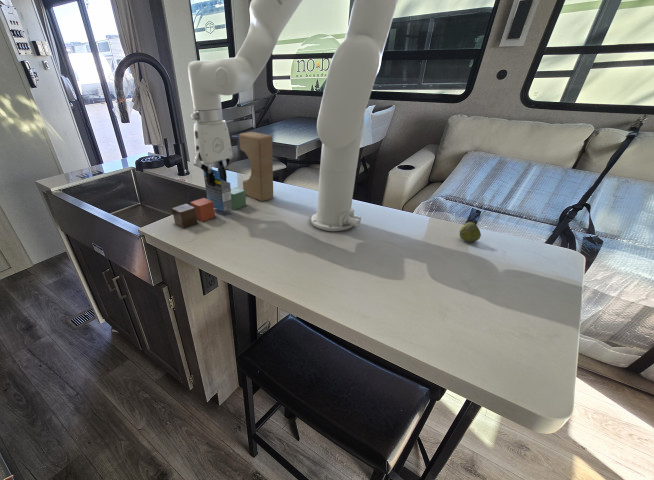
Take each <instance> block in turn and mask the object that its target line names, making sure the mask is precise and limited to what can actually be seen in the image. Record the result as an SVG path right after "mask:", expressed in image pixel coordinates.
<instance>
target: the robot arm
mask: <svg viewBox="0 0 654 480" xmlns="http://www.w3.org/2000/svg"><path fill="white" fill-rule="evenodd" d="M302 2H303V0H251V1H250V4H249V28H248V32H247V35H246V37H245V39H244V41H243V43H242V44H241V46H240V48H239V50H238V52H237V53H236V55H235V56H234V57H224V58H219V59H216V60H209V59H208V60H206V59H204V60H192V61H190V62H189V63H188V65H187V72H188V73H187V74H188V81H189V86H190V87H189V88H190V94H191V100H192V107H193V113H191V114H190V117H191V120H192V121H194V122H195V123H194V124H193V142H194V150H195V151H194V152H195V157H194V160H193V166H195V167H197V168H199V169H201V170H202V171H204V172H205V173H206V180H207V183H208V185H210V186H213V187H214V186H215V180H214V173H212V169H213V167H212V166H213V165H212V164H213V163H217V164H218V168H217V171H219V174H220V180H223V181H226V182H228V180H227V179H228V176H227V169H228V165H229V164H230V161H231V160H232V159H233V158H234V153H233V151H232V142H231V138H230V132H229V128H228V125H227V122H226V120H225V119H224V118H223V108H222V99H221V96H232V95H236V94H239V93H244V92H247V90H248V89H250V88H251V87H252V86H253V84H254V83H255V82H256V81H257V79H258V77H259V75H260V74H261V73H262V71H263V70H264V69H265V67H266V65H267V63H268V61H269V60H270V58H271V56H272V54H273V51H274V49H275V47H276V45H277V44H278V41H279V38H280V36H281V34H282V32H283V31H284V29H285V28H286V26H287V25H288V23H289V22H290V20H291V18H292V17H293V15H294V13H295V12H296V11H297V9H298V7H299V6H300V5H301V3H302ZM398 3H399V0H354V1H353V3H352V8H351V12H350V16H349V21H348V26H347V28H346V33H345V36H344V39H343V42H341V43H340V45H339V46H338V47H337V48H336V50H335V52H334V53H333V55H332V58H331V60H330V64H329V68H328V71H327V75H326V80H325V85H324V88H323V94H322V97H321V102H320V106H319V107H320V108H319V110H318V116H317V119H316V133H317V137H318V139H319V141H320V142H321V153H320V165H319V175H318V176H319V177H318V193H317V205H316V213H315V212H314V214H313V215H311V219H310V223H311V225H312V226H313V227H315V228H317V229H319V230H323V231H327V232H343V231H347V230H349V229H351V228H353V227H356V228H359V226H360V225H361V221H362V216H358V215H355V209H354V208H352V205H353V197H354V191H355V183H356V176H357V170H358V169H357V168H358V163H359V157H360V156H359V155H360V149H361V143H362V137H363V130H364V124H365V113H366V110H367V107H368V104H369V101H370V98H371V94H372V91H373V88H374V85H375V82H376V78H377V76H378V74H379V71H380V69H381V64H382V57H383V53H384V49H385V47H386V44H387V41H388V40H387V39H388V37H389V33H390V30H391V27H392V24H393V23H392V22H393V20H394V19H393V18H394V16H395V12H396V8H397V5H398Z"/></svg>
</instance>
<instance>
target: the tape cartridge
mask: <svg viewBox="0 0 654 480" xmlns="http://www.w3.org/2000/svg"><path fill="white" fill-rule="evenodd" d="M202 171H203V170H202ZM212 173H214V180H215V186H214V187H213V186H210V185H208V183H207V180H206V173H205V172H204V171H203V179H204V185H205V193H206V199H208V200H210V201H213V206H214V209H215V210H218V211H220V212H223V213H224V212H228V211H230V210H232V209H233V208H232V201H231V189H232V187H231V183H230V182H229V181H227V182H226V181H223V180H220V174H219V171H218V170H215V169H213V168H212Z"/></svg>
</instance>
